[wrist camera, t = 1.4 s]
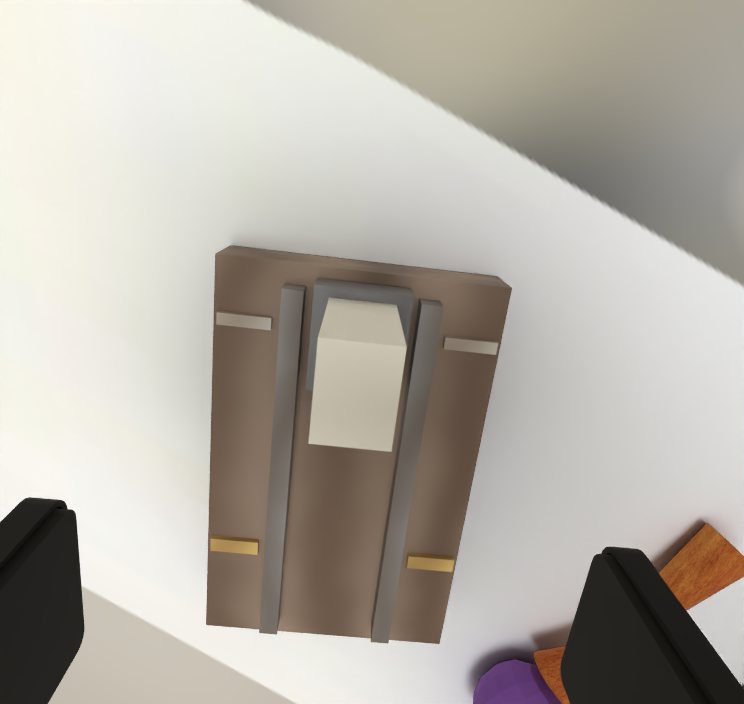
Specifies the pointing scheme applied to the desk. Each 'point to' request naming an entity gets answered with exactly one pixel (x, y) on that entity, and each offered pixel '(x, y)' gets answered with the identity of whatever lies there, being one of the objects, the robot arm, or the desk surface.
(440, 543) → the brown slider board
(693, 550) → the kendama
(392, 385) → the fader tab
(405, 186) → the desk surface
